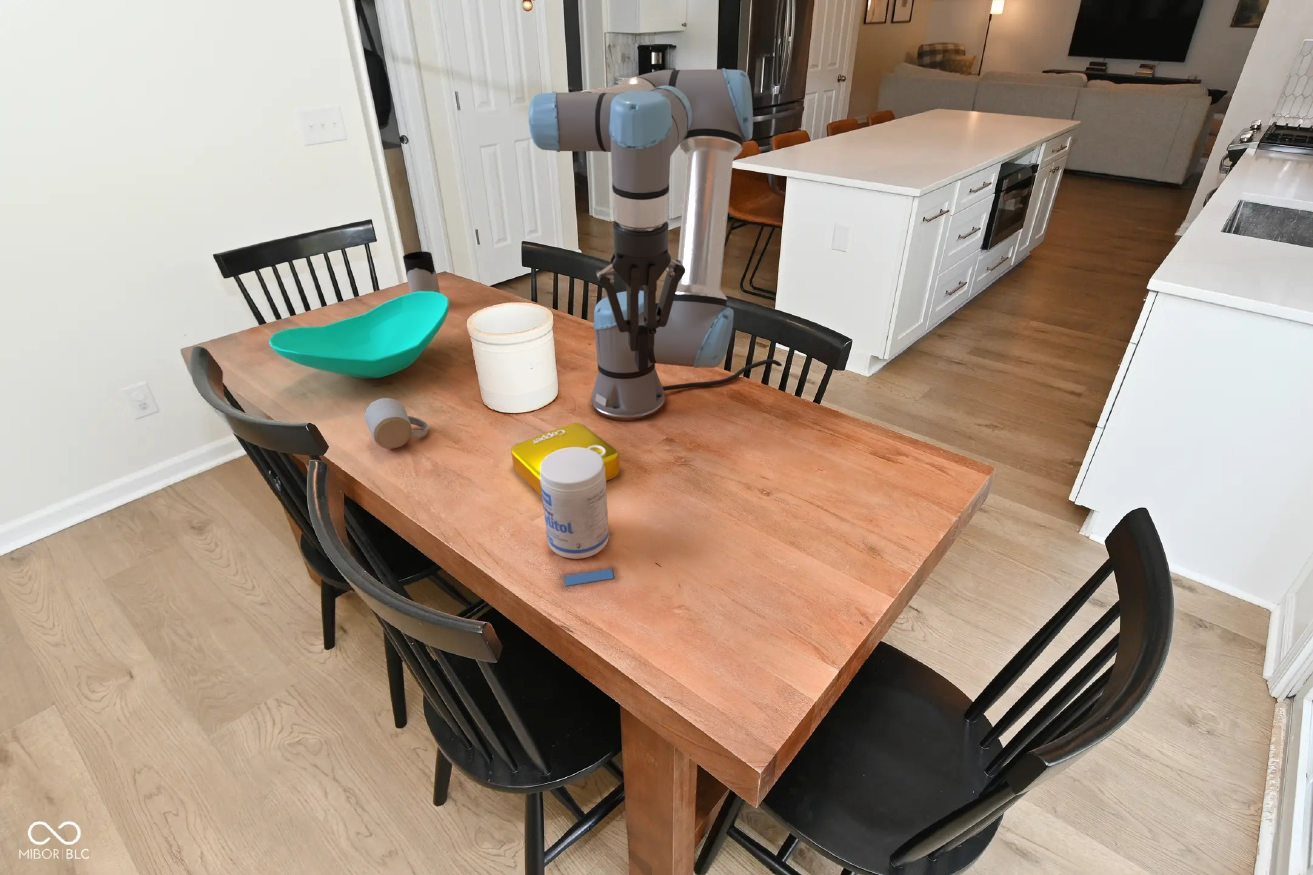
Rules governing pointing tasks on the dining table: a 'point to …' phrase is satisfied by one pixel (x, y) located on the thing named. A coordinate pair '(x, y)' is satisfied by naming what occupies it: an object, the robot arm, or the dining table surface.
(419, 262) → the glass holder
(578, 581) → the tape marks
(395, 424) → the ceramic mug
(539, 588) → the dining table surface
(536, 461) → the element tile
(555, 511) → the supplement tub
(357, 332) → the table top decor
